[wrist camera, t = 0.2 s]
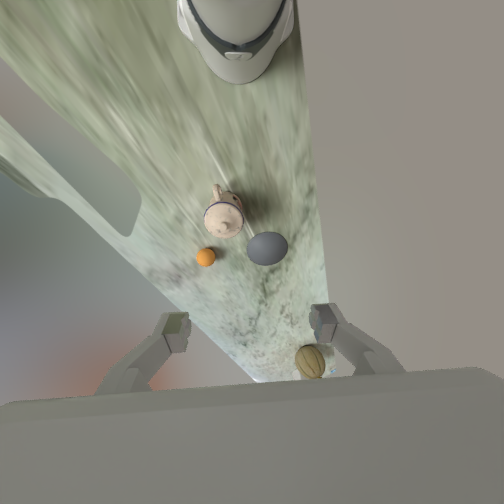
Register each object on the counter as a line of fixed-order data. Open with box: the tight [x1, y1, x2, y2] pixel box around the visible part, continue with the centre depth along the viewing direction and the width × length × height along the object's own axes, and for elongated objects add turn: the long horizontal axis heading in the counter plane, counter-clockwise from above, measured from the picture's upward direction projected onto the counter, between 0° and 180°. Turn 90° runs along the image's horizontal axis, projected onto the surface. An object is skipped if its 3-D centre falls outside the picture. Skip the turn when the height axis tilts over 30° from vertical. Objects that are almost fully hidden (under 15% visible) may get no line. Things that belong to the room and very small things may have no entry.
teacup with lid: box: [204, 184, 244, 238], centre depth 42 cm, size 12×9×12 cm
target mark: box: [247, 232, 287, 266], centre depth 57 cm, size 13×13×1 cm
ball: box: [197, 248, 215, 267], centre depth 54 cm, size 6×6×6 cm
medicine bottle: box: [292, 369, 308, 380], centre depth 110 cm, size 7×7×12 cm
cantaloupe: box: [295, 346, 325, 379], centre depth 91 cm, size 15×15×15 cm
